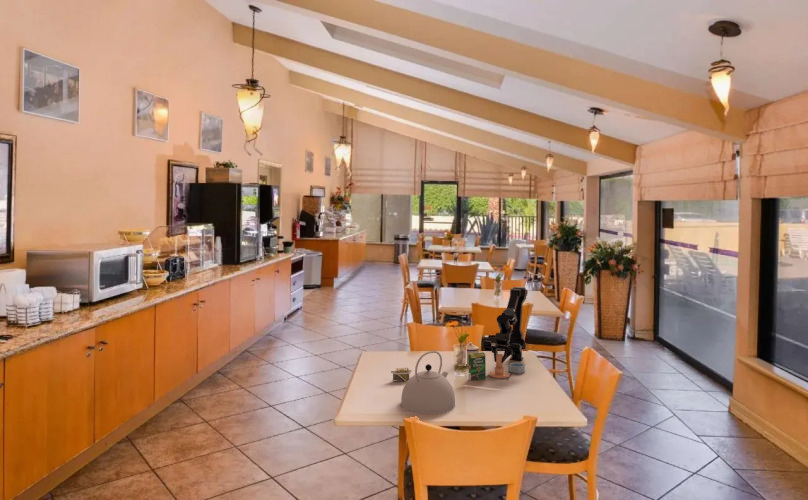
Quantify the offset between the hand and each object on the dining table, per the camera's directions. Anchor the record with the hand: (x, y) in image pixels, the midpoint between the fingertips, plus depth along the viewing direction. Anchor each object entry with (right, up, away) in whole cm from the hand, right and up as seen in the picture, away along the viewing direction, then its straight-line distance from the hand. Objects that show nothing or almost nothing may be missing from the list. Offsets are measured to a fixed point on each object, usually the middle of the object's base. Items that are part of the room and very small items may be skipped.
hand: (498, 362), depth 279 cm
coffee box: (-11, -8, -4) cm, 14 cm away
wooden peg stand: (0, -7, +2) cm, 7 cm away
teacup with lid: (-13, -6, +24) cm, 28 cm away
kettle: (-35, -10, -37) cm, 52 cm away
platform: (-47, -8, -6) cm, 48 cm away
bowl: (+11, -7, +10) cm, 16 cm away
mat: (0, -7, +2) cm, 8 cm away
